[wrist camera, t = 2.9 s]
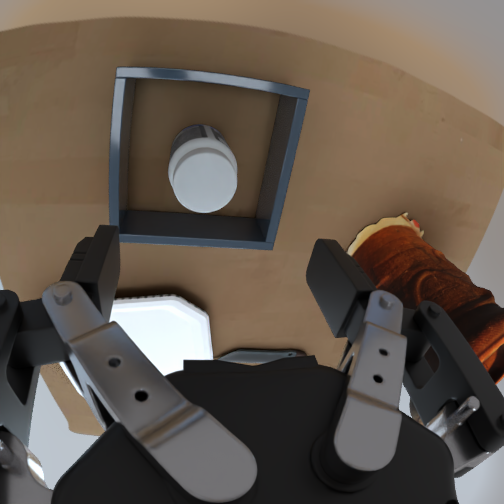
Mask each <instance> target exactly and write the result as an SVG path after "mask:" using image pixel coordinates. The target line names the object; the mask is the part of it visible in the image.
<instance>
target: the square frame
mask: <svg viewBox="0 0 504 504" xmlns="http://www.w3.org/2000/svg"><path fill="white" fill-rule="evenodd" d="M136 78H152V79H170V80H183V81H194V82H204V83H213V84H221V85H229V86H236V87H242V88H249V89H255V90H261V91H266V92H272V93H277V94H281V95H280V100H279V105H278V110H277V114H276V119H275V124H274V129H273V134H272V138H271V143H270V148H269V153H268V158H267V163H266V167H265V172H264V177H263V182H262V187H261V192H260V197H259V201H258V206H257V211H256V216H255V218H244V217H230V216H217V215H202V214H186V213H170V212H152V211H132V210H127V201H128V166H129V148H130V133H131V121H132V110H133V101H134V92H135V84H136ZM309 93H310V90H308V89H304V88H300V87H295V86H291V85H286V84H282V83H277V82H272V81H266V80H261V79H255V78H249V77H243V76H237V75H230V74H223V73H215V72H206V71H197V70H186V69H173V68H157V67H117V69H116V78H115V85H114V94H113V105H112V117H111V132H110V153H109V223H110V225H116V226H118V227H119V242H123V243H143V244H162V245H181V246H200V247H219V248H238V249H257V250H273V246H274V242H275V238H276V234H277V230H278V226H279V222H280V217H281V213H282V209H283V205H284V201H285V197H286V193H287V188H288V184H289V180H290V176H291V171H292V167H293V163H294V159H295V154H296V150H297V146H298V141H299V137H300V133H301V128H302V124H303V120H304V115H305V111H306V106H307V102H308V97H309Z"/></svg>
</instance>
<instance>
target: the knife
mask: <svg viewBox="0 0 504 504" xmlns="http://www.w3.org/2000/svg"><path fill="white" fill-rule="evenodd" d="M289 353H291V354H289ZM298 356H306V354H305V353H304V352H301V351H294V350H285V351H266V350H244V349H239V350H237V351H234V352H231V353H229V354H227V355H225V356H222V357H220V358H219V359H217V360H222V361H227V362H239V363H267V362H271V361H274V360H278V359H281V358H285V357H298Z"/></svg>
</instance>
